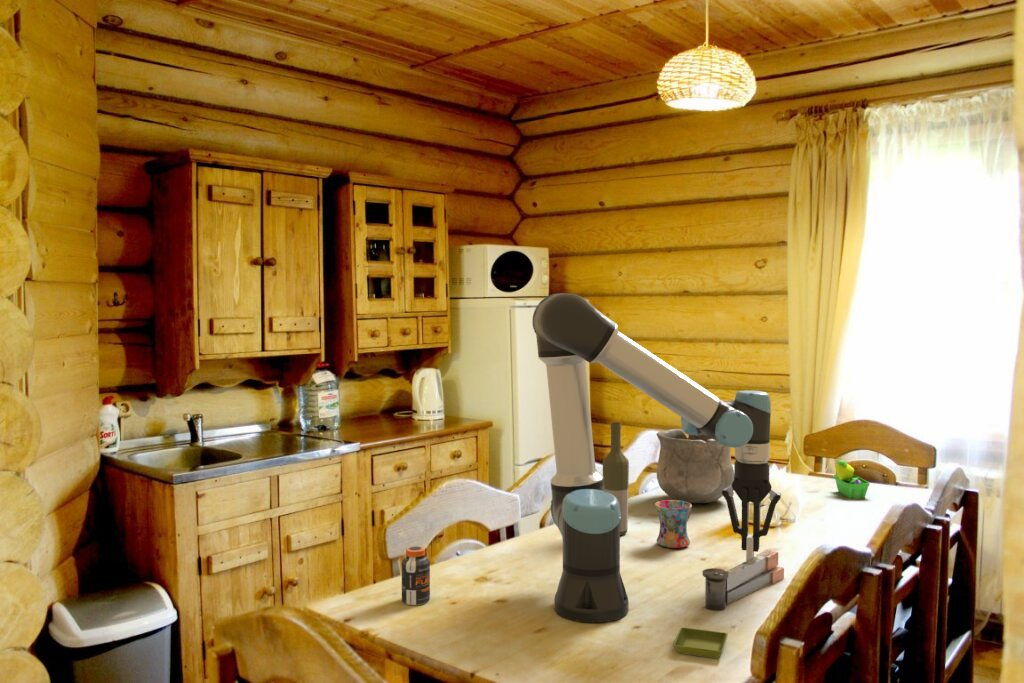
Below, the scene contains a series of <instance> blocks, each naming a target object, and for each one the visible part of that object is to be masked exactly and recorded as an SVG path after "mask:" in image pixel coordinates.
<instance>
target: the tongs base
mask: <svg viewBox="0 0 1024 683" xmlns="http://www.w3.org/2000/svg"><path fill="white" fill-rule="evenodd" d="M702 576H703V577H704V578H705V586H704V587H705V590H704V591H705V593H704V594H705V595H704V597H705V599H704V600H705V601H704V602H705V605H704V607H705V608H706V609H708V610H709V611H710V610H711V611H716V612H717V611H724V610H725V609H726V605H729V604H731V603H734V602H735V601H737V600H740V599H741V598H744V597H745V596H749V595H750V594H752V593H754V592H756V591H759V590H760V589H762V588H766V587H767V586H768V585H771V584H776V583H778V582H779V581H781V580H783V579H785V568H784V567H781V566H779V565H778V566H776V567H774V568H772V569H770V570H766V571H764V572H762V573H760V574H759V575H757V576H755V577H753V578H751V579H749V580H747V581H745V582H744V583H742V584H740V585H738V586H736V587H734V588H732V589H731V590H729V591H725V589H726V578H728V577H729V573H728V572H727V570H725V569H721V568H712V567H711V568H705V569H703V570H702Z"/></svg>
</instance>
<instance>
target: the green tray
mask: <svg viewBox="0 0 1024 683" xmlns="http://www.w3.org/2000/svg"><path fill="white" fill-rule="evenodd" d="M728 635H729V634H728V633H726V632H722V631H716V630H715V631H714V630H706V629H700V628H699V629H697V628H692V627H680V628H679V630H678V632H677V635H676V636H675V639H674V641H673V647H674V648H675V649H676V650H677V651H678V653H680V654H684V655H689V656H690V655H692V656H699V657H705V658H711V659H712V658H714V659H717V658H719V657H720V656H721V655H722V654H723V652H724V648H725V646H726V641H727V639H728Z"/></svg>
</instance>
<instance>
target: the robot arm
mask: <svg viewBox="0 0 1024 683" xmlns="http://www.w3.org/2000/svg"><path fill="white" fill-rule="evenodd" d="M532 329H533V331H534V333H535V335H536V347H537V354H538V355H537V358H538V359H539V360H540V361H542V363H543V364H545V367H546V377H547V388H548V389H547V390H548V396H549V397H548V398H549V407H550V417H551V427H552V437H553V438H552V439H553V451H554V456H555V457H554V459H555V467H556V468H555V469H556V472H555V474H554V475H553V476H552V478H551V479H550V489H551V500H550V502H551V503H550V514H551V517H552V521H553V522H554V524H555V526H556V527H557V528H558V531H559V533H560V534H561V538H562V571H561V575H560V578H559V581H558V582H559V583H558V585H557V589H556V593H555V594H554V598H553V599H554V600H553V602H554V604H553V605H554V606H553V607H554V608H553V609H554V611H555V613H556V614H558V615H559V616H561V617H563V618H565V619H567V620H571V621H575V622H581V623H591V624H592V623H607V622H612V621H617V620H620V619H622V618H623V617H626V615H627V614H628V613H629V611H630V610H629V602H630V601H629V597H628V594H627V591H626V588H625V584H624V581H623V579H622V576H621V569H620V568H621V565H620V564H621V563H620V562H621V535H620V519H621V512H620V507H619V502H618V500H617V498H616V497H615V496H613V495H612V494H610V493H608V492H606V493H605V489H604V479H603V473H600V472H599V471H598V470H597V468H596V460H595V459H596V458H595V451H594V450H595V449H594V447H595V446H594V440H593V427H592V416H591V405H590V396H589V386H588V376H587V375H588V373H587V365H586V362H587V363H589V364H594V363H598V364H600V365H601V366H602V367H604V368H606V369H607V370H609V371H610V372H612V373H613V374H615V375H616V376H617V377H620V378H621V379H623V380H624V381H626V382H627V383H628V384H630V385H631V386H632V387H635V388H636V389H638V390H639V391H641V392H642V393H644V394H645V395H647V396H648V397H650V398H651V399H652V400H654V401H657V402H658V403H659V404H661V405H662V406H663V407H665V408H667V409H668V410H670V411H671V412H673V413H674V414H676V415H677V416H679V417H680V423H681V429H682V430H683V431H684V433H685V435H696V436H698V435H706V436H708V437H710V438H712V439H714V440H716V441H718V442H720V443H721V444H722V445H724V446H727V447H731V448H732V449H733V448H734V458H735V459H736V460H735V461H734V462H733V464H734V465H733V466H734V467H733V470H734V481H733V482H732V486H730V487H728V488H724V489H723V491H722V495H723V496H722V497H724V500H725V501H726V504H727V510H728V513H729V514H728V515H729V518H730V519H729V520H730V522H731V527H732V531H733V533H735V534H738V535H740V536H741V547H740V548H741V551H746V553H745V554H746V555H745V556H746V559H745V561H747V560H749V559H751V558H753V557H755V552H759V550H760V538H761V537H766V536H768V534H769V533H768V532H769V530H770V526H771V524H772V523H771V522H772V519H773V516H774V512H775V509H776V506H777V503H779V501H780V499H781V497H782V494H781V492H777V491H776V490H774V489H773V488H772V484H771V482H770V465H771V464H770V463H769V460H770V458H771V456H770V455H771V442H770V441H771V438H770V437H771V435H770V434H771V416H772V408H771V405H772V404H771V397H770V394H769V393H767V392H765V391H762V390H750V389H749V390H738V391H737V392H736V393H735V397H734V399H731V400H722V399H720V398H719V397H718V396H717V395H715V394H713V393H712V392H710V391H709V390H708V389H706V388H705V387H703V386H701V384H698V383H697V382H696V381H694V380H692V379H691V378H689V377H688V376H687V375H685V374H683V373H682V372H680V371H679V370H677V368H675V367H673V366H672V365H670V364H668V363H667V362H665V361H664V360H663V359H661V358H660V357H658V356H656V355H655V354H653V353H652V352H650V351H649V350H647V348H645V347H643V346H641V345H640V344H638V343H637V342H635V341H634V340H633V339H631V338H630V337H628V336H627V335H625V334H623V333H622V332H621V331H619V327H618V324H617V323H616V322H615V321H613V320H611V319H610V318H609V317H607V316H606V315H604V313H602V312H601V311H600V310H598V309H597V308H596V307H595V306H594V305H593V304H591V303H590V302H589V301H588V300H586V299H585V298H584V297H582V296H580V295H578V294H575V293H572V292H571V293H570V292H569V293H568V292H567V293H566V292H565V293H564V292H563V293H562V292H557V293H552V294H549V295H548V296H546V297H544V298H543V299H541V300H540V301H539V302H538V304H537V306H536V307H535V309H534V312H533V314H532ZM734 494H736V496H737V497H738V498H739V500H740V501H741V526H740V521H739V517H738V512H737V509H736V504H735V500H734ZM767 495H769V497H768V499H769V500H770V502H769V505H768V509H767V511H766V516H765V520H764V522H763V526H762V528H761V503H762V501H763V500H764V499H765V498H766V497H767ZM750 503H752V504H753V515H752V517H753V518H752V519H753V520H752V521H753V522H752V524H753V526H752V534H749V522H750V520H749V517H750V515H749V514H750V513H749V511H750V509H749V508H750V506H749V505H750Z"/></svg>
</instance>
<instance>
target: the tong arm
mask: <svg viewBox="0 0 1024 683" xmlns="http://www.w3.org/2000/svg"><path fill="white" fill-rule="evenodd" d="M776 566H778V567H779V551H775V550H769V549H765V550H763V551H762V552H760V553H757V554H756V556H755V555H754V557H753V558H751V559H749V560H747V561H746V560H745V561H743V562H742V563H740V564H738V565H735V566H734V567H731V568H730V569H728V570H726V571H727V572H728V573H729V577H728V578H726V589H725V591H729V590H731V589H732V588H734V587H736V586H738V585H740V584H742V583H744V582H745V581H747V580H749V579H751V578H753V577H755V576H757V575H759V574H760V573H762V572H764V571H766V570H770V569H772V568H774V567H776Z"/></svg>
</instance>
